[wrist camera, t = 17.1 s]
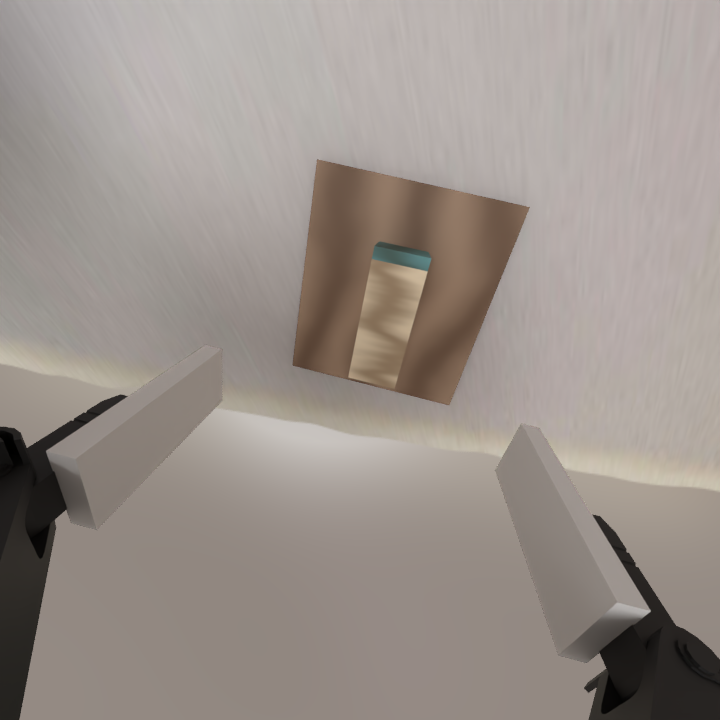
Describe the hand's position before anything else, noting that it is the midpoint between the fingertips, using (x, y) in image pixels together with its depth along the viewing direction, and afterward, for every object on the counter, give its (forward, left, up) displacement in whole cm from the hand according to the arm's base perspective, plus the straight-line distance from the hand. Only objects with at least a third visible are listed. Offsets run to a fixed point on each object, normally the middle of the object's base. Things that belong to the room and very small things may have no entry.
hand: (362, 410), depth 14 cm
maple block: (0, -7, -16) cm, 18 cm away
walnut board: (0, 0, -20) cm, 20 cm away
